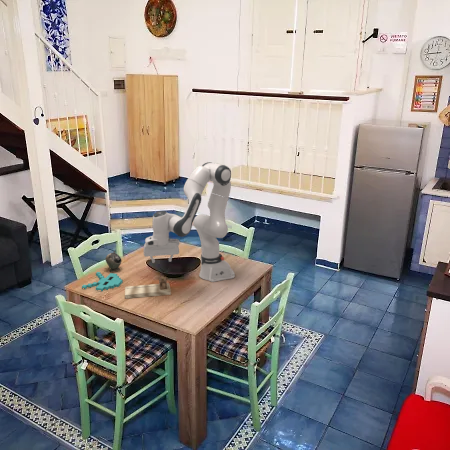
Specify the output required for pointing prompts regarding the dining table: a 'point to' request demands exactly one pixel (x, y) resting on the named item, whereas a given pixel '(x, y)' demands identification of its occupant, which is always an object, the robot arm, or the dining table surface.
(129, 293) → the board
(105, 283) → the alien figure
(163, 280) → the gauge
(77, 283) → the dining table surface
